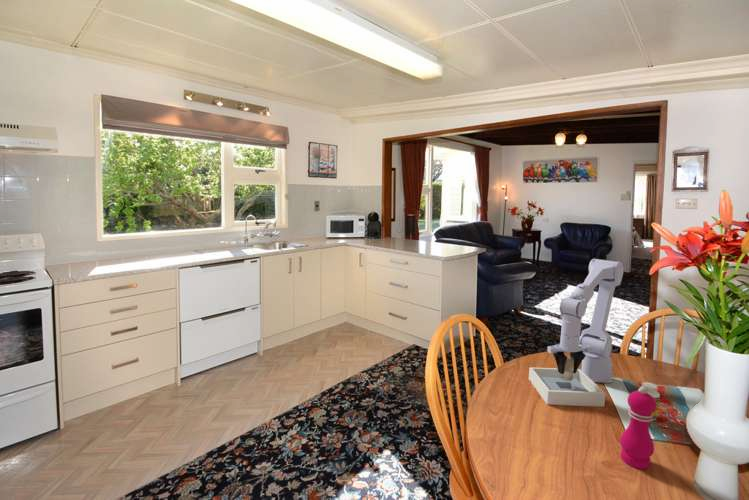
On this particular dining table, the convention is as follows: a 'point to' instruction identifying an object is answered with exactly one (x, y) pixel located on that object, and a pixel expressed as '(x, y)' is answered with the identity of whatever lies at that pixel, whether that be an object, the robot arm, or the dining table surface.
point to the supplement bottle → (653, 392)
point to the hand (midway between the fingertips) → (566, 372)
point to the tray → (567, 397)
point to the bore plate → (563, 384)
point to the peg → (568, 369)
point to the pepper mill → (638, 430)
